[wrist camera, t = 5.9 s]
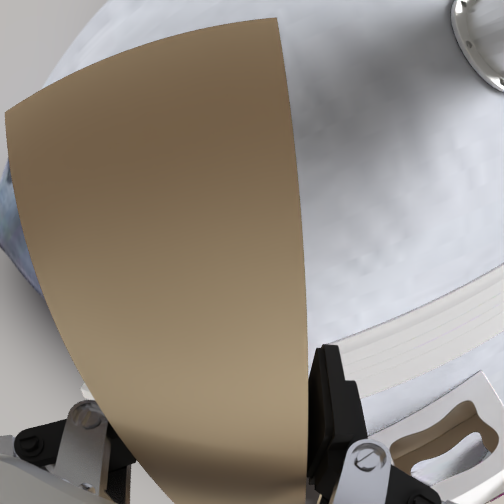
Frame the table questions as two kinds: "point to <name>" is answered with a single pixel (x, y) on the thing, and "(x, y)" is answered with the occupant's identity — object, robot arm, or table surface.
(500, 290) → the baseboard molding
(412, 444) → the gable box
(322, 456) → the robot arm
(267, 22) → the rail
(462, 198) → the table surface
